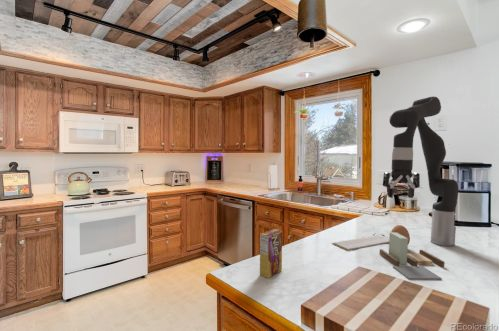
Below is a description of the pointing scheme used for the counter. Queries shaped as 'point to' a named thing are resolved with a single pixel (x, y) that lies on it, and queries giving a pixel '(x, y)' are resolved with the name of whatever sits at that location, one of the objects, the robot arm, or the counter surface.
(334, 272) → the counter surface
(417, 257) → the upper offcut
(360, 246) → the baseboard molding
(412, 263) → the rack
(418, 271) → the rubber mat
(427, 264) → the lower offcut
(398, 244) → the pale green block
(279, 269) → the candy box
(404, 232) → the egg
